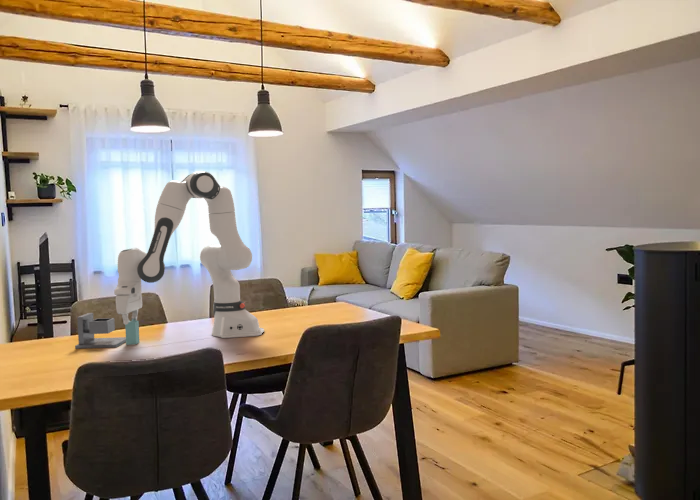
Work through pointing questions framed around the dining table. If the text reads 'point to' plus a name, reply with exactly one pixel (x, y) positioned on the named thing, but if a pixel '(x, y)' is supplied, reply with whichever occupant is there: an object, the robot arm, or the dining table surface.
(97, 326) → the cup bracket
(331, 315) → the dining table surface
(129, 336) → the teal rectangular block
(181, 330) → the dining table surface
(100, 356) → the dining table surface
